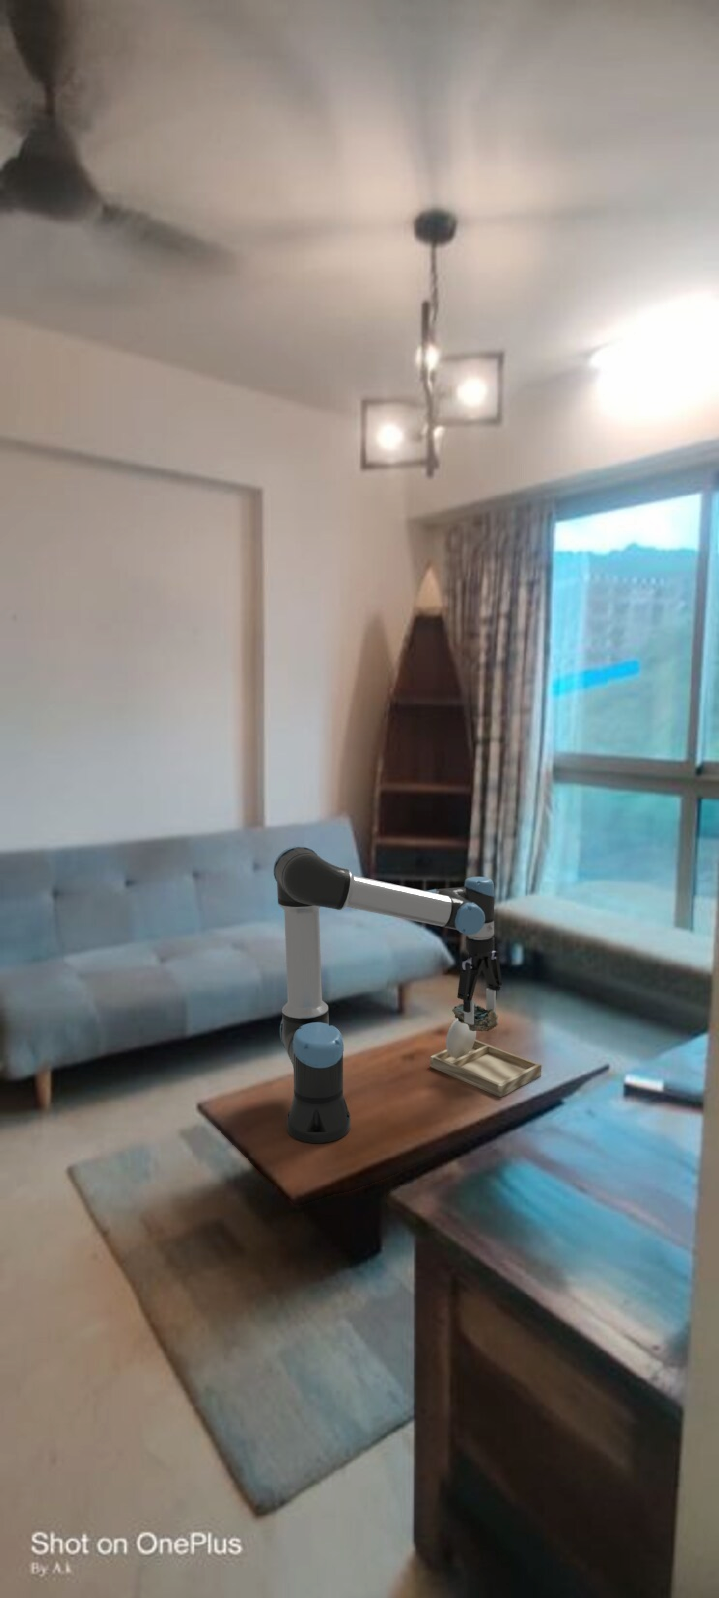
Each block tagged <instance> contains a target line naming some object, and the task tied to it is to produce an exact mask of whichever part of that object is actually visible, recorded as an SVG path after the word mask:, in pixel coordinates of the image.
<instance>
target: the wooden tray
mask: <svg viewBox="0 0 719 1598" xmlns="http://www.w3.org/2000/svg"><path fill="white" fill-rule="evenodd" d="M429 1060H430V1064H429V1065H430V1067H431V1068H432V1069H434V1070H437V1071H439V1072H442V1073H444V1074H446V1075H448V1076H451V1077H453V1078H456V1079H458V1080H460V1081H462V1082H465V1083H467V1084H469V1085H471V1086H474V1087H475V1088H479V1089H481V1090H483V1091H486V1092H487V1093H489V1094H492V1095H494V1096H496V1097H498V1098H502V1097H504V1096H506V1095H508V1094H510V1093H512V1092H513V1091H515V1090H517V1089H519V1088H521V1087H523V1086H525V1085H527V1084H528V1083H530V1082H531V1081H534V1080H536V1079H537V1078H539V1077H541V1076H542V1064H540V1063H538V1062H536V1061H533V1060H530V1059H529V1058H525V1057H524V1056H520V1055H517V1054H515V1053H512V1052H510V1051H506V1050H504V1049H503V1048H499V1047H496V1046H495V1045H494V1046H493V1045H491V1044H488V1043H486V1042H483V1041H481V1040H479V1039H476V1038H475V1042H474V1045H473V1047H472V1049H471V1051H470V1052H469V1053H468V1054H466V1055H464V1056H462V1057H460V1058H458V1059H455V1058H453V1057H451V1056H450V1055H449V1053H448V1051H447V1048H446V1049H444V1050H442V1051H439V1052H437V1053H435V1054H433V1055H431V1056H430V1059H429Z"/></svg>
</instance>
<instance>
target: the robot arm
mask: <svg viewBox="0 0 719 1598" xmlns="http://www.w3.org/2000/svg"><path fill="white" fill-rule="evenodd" d="M273 876H274V879H275V882H276V890H277V892H276V893H277V894H276V895H277V905H278V906H279V907H281V909H282V910H284V913H283V914H284V915H283V916H284V937H285V938H284V939H285V941H284V942H285V962H286V963H285V964H286V986H287V987H286V989H287V990H286V991H287V994H286V995H287V1002H286V1003H285V1004H284V1005H283V1006H282V1008H281V1014H282V1015H281V1017H282V1019H281V1021H280V1025H279V1036H280V1041H281V1045H282V1046H283V1047H284V1049H285V1051H286V1052H287V1053H286V1054H287V1056H288V1057H289V1060H290V1062H291V1065H292V1067H293V1098H292V1101H291V1105H290V1108H289V1109H290V1111H288V1114H287V1117H286V1130H287V1132H288V1134H289V1135H290V1136H291V1137H292V1138H294V1139H296V1140H298V1141H301V1142H305V1143H308V1144H309V1143H310V1144H324V1143H330V1142H335V1141H337V1140H340V1139H341V1138H343V1137H345V1136H346V1135H347V1134H348V1133H349V1131H350V1130H351V1128H352V1127H351V1125H352V1124H351V1123H352V1122H351V1114H350V1111H349V1107H348V1105H347V1102H346V1099H345V1096H344V1050H345V1049H344V1047H345V1046H344V1042H343V1041H344V1040H343V1036H342V1033H341V1031H340V1030H339V1029H338V1028H337V1027H336V1026H335V1025H330V1022H329V1021H330V1019H329V1018H330V1017H329V1005H328V1004H327V1003H326V1002H325V1001H324V1000H323V994H322V993H323V992H322V991H323V989H322V964H321V963H322V962H321V959H322V958H321V934H320V932H321V929H320V908H327V909H333V910H337V911H342V910H343V909H345V908H350V909H355V910H360V911H364V912H370V913H373V914H374V913H375V914H379V915H384V916H390V917H393V918H399V919H404V920H408V921H413V922H418V923H422V924H428V925H433V926H439V927H442V928H446V929H451V930H456V931H458V932H459V933H461V934H463V935H466V936H465V949H466V951H467V952H468V957H467V960H465V961H464V960H461V961H460V963H459V965H460V973H459V981H458V990H457V999H459V1000H462V1001H463V1002H462V1004H463V1010H464V1022H466V1023H469V1024H471V1025H473V1024H474V1002H475V1000H474V999H473V995H474V993H475V989H476V985H477V982H478V981H477V980H478V977H480V975H481V973H483V976H484V978H485V981H486V984H487V987H488V988H486V989H485V991H486V992H485V995H486V996H485V1000H486V1001H485V1008H486V1009H485V1010H488V1011H489V1010H490V1009H493V1010H494V1011H495V1012H496V1013H497V991H498V992H499V991H500V990H501V986H502V984H503V980H502V973H501V966H500V952H499V951H496V950H495V937H494V935H495V897H496V895H495V886H494V885H495V883H494V880H492V879H491V878H489V877H486V876H471V877H468V878H466V879H465V881H464V886H460V887H450V888H447V887H446V888H439V889H438V888H434V889H429V890H422V889H418V888H413V887H408V886H404V885H398V884H394V883H390V882H386V881H380V880H376V879H371V878H367V877H363V876H359V875H354V874H353V873H352V872H351V870H350V869H347V868H342V867H339V866H338V865H335V864H333V863H329V862H328V861H327V860H325V859H323V858H322V857H321V856H319V854H317V853H316V852H315V851H314V850H313V849H311V848H309V847H305V846H300V845H297V846H296V845H295V846H290V847H287V848H286V849H285V850H283V851H282V852H281V853H279V855H277V857H276V860H275V861H274V864H273Z"/></svg>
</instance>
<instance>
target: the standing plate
mask: <svg viewBox="0 0 719 1598" xmlns="http://www.w3.org/2000/svg"><path fill="white" fill-rule="evenodd" d="M476 1038H477V1031H471V1030H469V1026H468V1024H465V1023H461V1022H459V1021H458V1018H457V1019H456V1018H455V1019H454V1020H453V1021H452V1023H451V1024H450V1026H449V1028H448V1030H447V1033H446V1039H445V1047H446V1049H447V1051H448V1053H449V1055H450V1056H451V1057H453V1058H455V1059H458V1058H460V1057H462V1056H464V1055H466V1054H468V1053H469V1052H470V1051H471V1049H472V1047H473V1045H474V1042H475V1039H476Z"/></svg>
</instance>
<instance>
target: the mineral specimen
mask: <svg viewBox="0 0 719 1598" xmlns="http://www.w3.org/2000/svg"><path fill="white" fill-rule="evenodd" d="M451 1012H452V1013H453V1014H454V1018H455V1019H457V1018H458V1021H459V1022H461V1023H465V1024H468V1026H469V1030H471V1031H476V1032H489V1031H490V1030H493V1029H495V1028H497V1026H499V1021H498V1018H499V1016H498V1014H497V1011H496V1012H495V1011H494V1010H493V1009H490V1010H489V1011H488V1010H486V1009H485V1007H482V1006H480V1005H479V1004H477V1003H476V1002H475V1001H474V1024H473V1025H471V1024H469V1023H466V1022H464V1010H463V1003H460V1004H458V1005H456V1006H454V1008H452V1010H451Z"/></svg>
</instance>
